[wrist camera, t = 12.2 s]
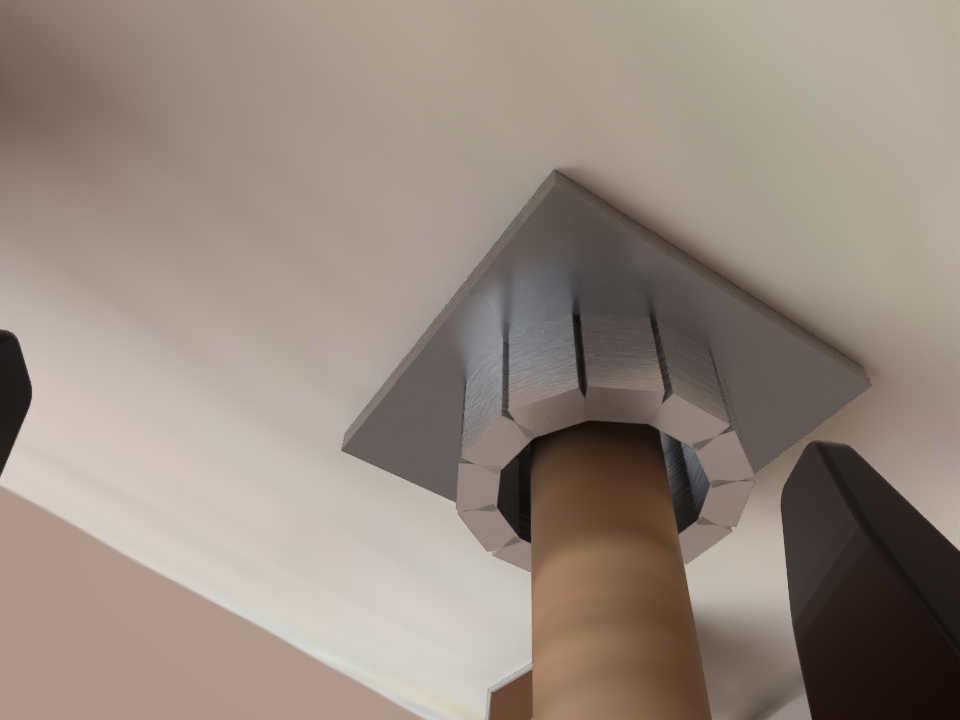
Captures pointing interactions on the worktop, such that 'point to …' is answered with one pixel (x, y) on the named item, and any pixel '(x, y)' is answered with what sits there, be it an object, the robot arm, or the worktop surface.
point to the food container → (512, 697)
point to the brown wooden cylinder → (609, 580)
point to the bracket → (598, 373)
